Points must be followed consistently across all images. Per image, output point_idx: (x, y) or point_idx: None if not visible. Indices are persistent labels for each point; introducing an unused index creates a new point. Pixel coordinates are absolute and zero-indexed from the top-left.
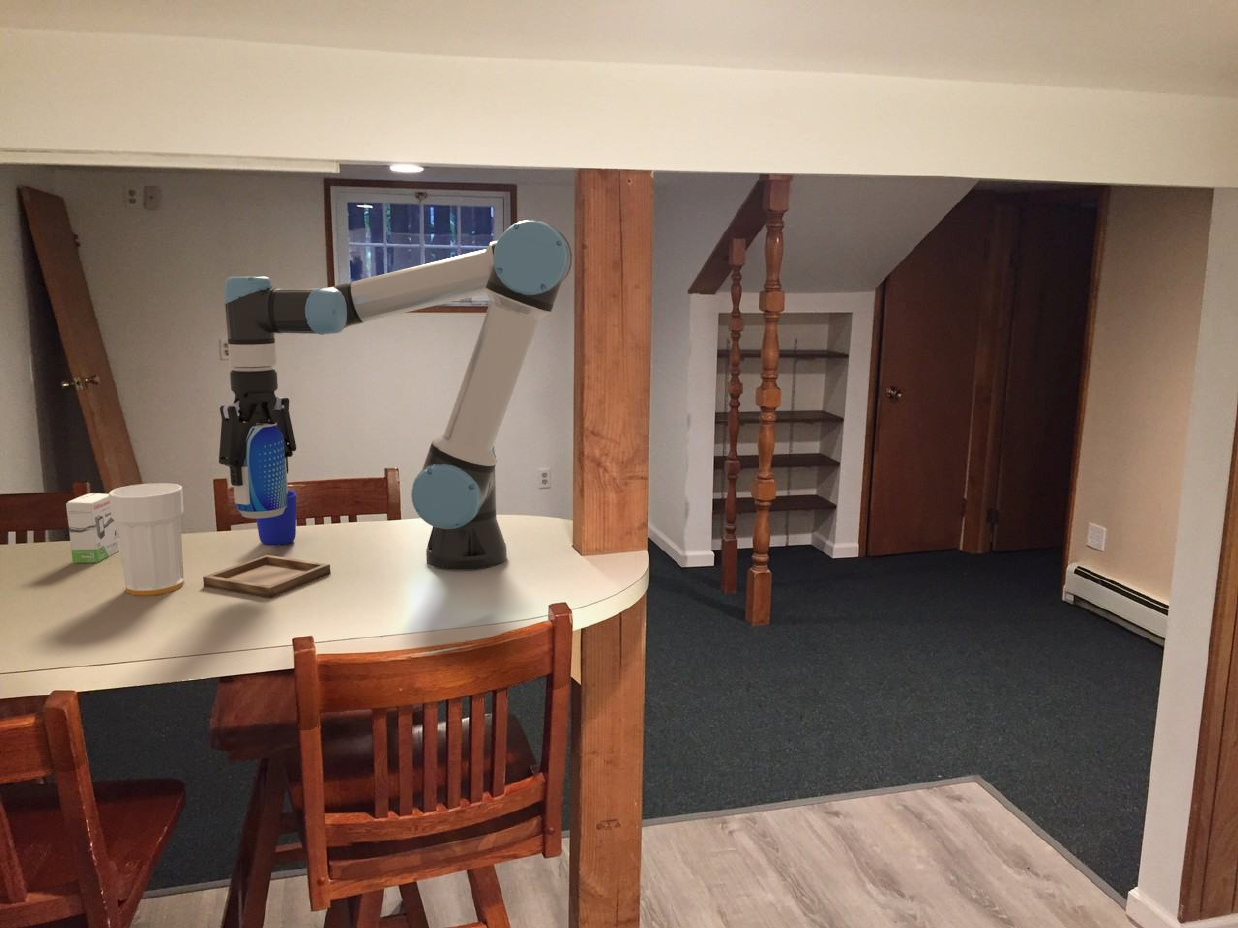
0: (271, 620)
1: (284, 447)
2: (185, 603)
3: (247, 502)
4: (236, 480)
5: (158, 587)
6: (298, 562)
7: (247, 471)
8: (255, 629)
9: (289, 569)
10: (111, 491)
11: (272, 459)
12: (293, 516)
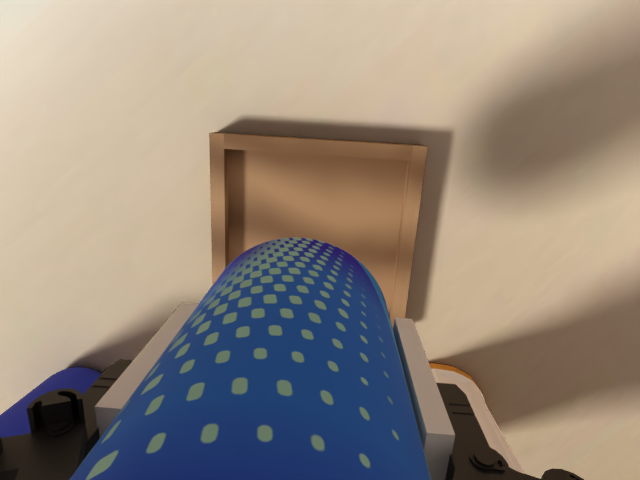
0: (559, 29)
1: (49, 466)
2: (500, 290)
3: (409, 323)
4: (470, 407)
5: (468, 382)
6: (225, 223)
7: (423, 411)
8: (623, 21)
9: (248, 231)
10: None
11: (316, 356)
12: (27, 401)
